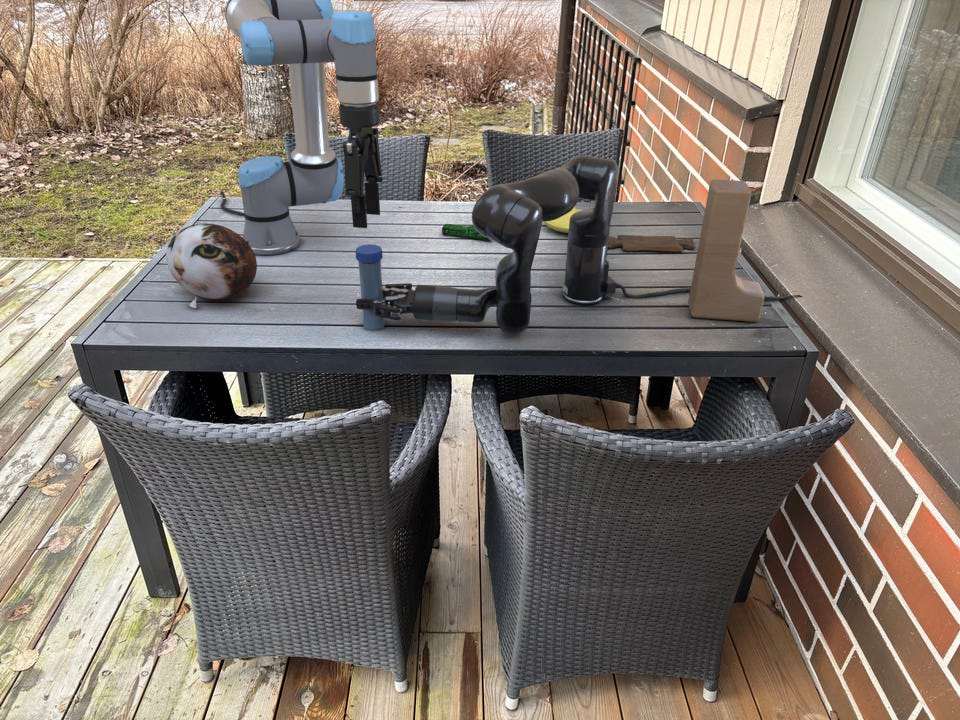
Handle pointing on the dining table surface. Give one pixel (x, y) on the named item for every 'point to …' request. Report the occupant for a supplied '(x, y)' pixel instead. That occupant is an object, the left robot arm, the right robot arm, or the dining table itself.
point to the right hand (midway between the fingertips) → (360, 298)
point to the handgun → (463, 231)
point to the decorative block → (723, 258)
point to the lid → (369, 253)
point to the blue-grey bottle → (371, 292)
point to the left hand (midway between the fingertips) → (367, 220)
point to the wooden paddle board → (650, 243)
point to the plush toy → (211, 261)
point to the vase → (562, 222)
